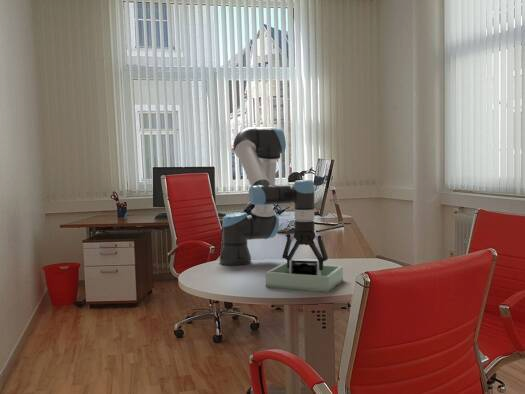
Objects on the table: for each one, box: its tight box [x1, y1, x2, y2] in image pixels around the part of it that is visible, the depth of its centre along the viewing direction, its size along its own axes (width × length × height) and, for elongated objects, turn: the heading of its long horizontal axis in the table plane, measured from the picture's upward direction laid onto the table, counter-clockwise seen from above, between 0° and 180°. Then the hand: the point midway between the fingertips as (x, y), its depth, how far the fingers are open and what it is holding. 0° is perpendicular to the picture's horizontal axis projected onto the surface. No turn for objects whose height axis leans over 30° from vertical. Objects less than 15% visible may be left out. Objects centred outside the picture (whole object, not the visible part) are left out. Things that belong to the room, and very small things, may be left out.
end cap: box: [291, 259, 318, 275], centre depth 195 cm, size 10×7×7 cm
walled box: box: [265, 262, 344, 293], centre depth 195 cm, size 24×20×6 cm
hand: (305, 277), depth 195 cm, fingers closed on end cap, 10 cm apart
